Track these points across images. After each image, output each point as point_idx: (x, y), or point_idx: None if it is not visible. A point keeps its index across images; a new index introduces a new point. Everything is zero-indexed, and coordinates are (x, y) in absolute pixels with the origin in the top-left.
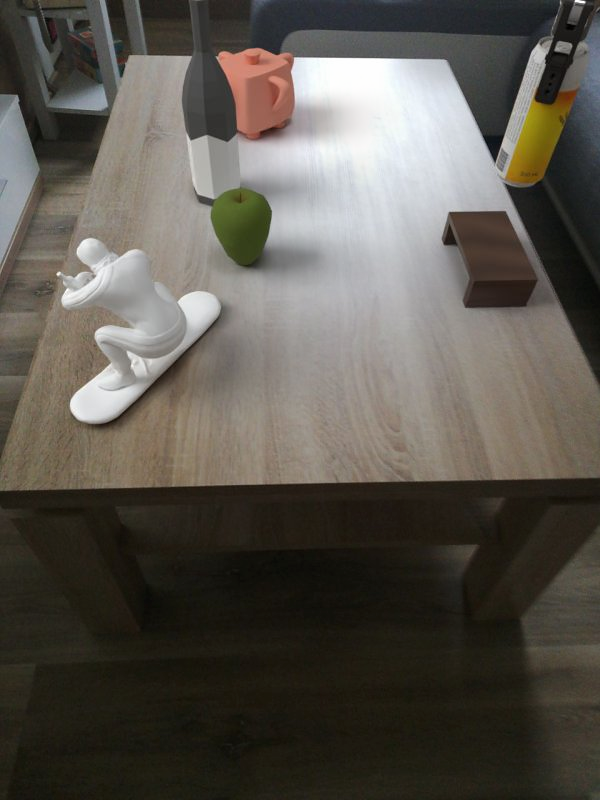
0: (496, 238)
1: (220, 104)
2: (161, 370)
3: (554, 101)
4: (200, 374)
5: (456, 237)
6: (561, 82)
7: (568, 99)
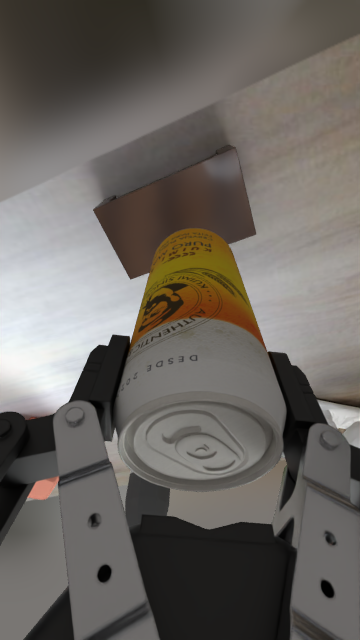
0: (162, 216)
1: (157, 506)
2: (357, 409)
3: (285, 355)
4: (352, 389)
5: None
6: (302, 392)
7: (250, 322)
